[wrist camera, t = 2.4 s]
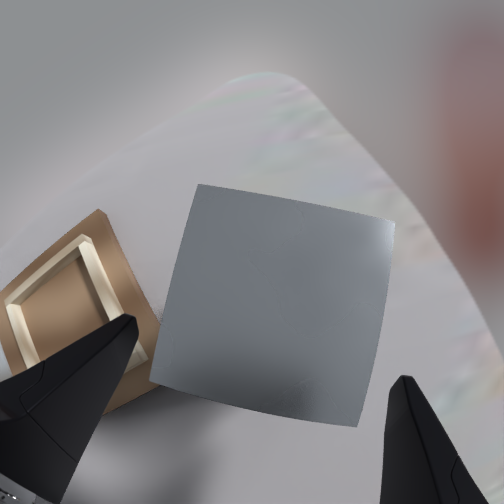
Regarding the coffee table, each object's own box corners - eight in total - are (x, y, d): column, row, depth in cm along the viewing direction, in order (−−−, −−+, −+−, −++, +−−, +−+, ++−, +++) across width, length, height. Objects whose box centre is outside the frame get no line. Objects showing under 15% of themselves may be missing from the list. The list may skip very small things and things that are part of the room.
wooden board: (186, 370, 19) (175, 375, 16) (2, 460, 17) (-14, 465, 15) (106, 214, 22) (89, 202, 19) (-43, 347, 20) (-59, 346, 18)
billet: (305, 361, 18) (357, 427, 6) (231, 345, 19) (148, 381, 6) (321, 288, 19) (394, 221, 7) (248, 273, 20) (198, 183, 7)
